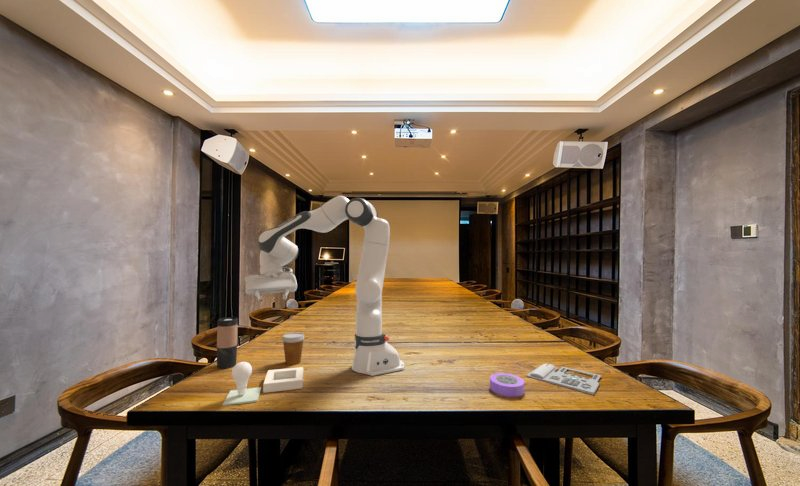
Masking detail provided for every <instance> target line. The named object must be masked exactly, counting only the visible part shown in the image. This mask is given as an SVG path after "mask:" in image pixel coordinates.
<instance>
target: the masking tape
mask: <svg viewBox="0 0 800 486" xmlns="http://www.w3.org/2000/svg"><path fill="white" fill-rule="evenodd" d="M489 389H490V390H491V392H493V393H494V394H496V395H499V396H502V397H503V396H504V397H507V398H516V397H517V398H518V397H521V396H524V394H525V380H524V379H523V378H521V377H520V376H518V375H515V374H512V373H508V372H507V373H506V372H498V373H497V372H496V373H494V374H491V375H490V377H489Z"/></svg>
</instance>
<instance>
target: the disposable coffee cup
mask: <svg viewBox="0 0 800 486" xmlns="http://www.w3.org/2000/svg"><path fill="white" fill-rule="evenodd" d="M305 338H306V337H305V334H304V333H302V332H289V333H288V332H287V333H286V334H284V335H282V338H281V340H282V343H283V352H284V360H285V365H289V366H294V365H297V364H300V363H301V361H302V360H301V359H302V354H303V348H304V347H303V345H304V340H305Z"/></svg>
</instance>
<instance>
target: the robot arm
mask: <svg viewBox="0 0 800 486" xmlns="http://www.w3.org/2000/svg"><path fill="white" fill-rule="evenodd" d="M378 215H379V214H378V211H377V208H375V206H374V205H373V204H372V203H370V202H369V201H368V200H366V199H365V198H362V197H354V198H351V199H349V198H347V196H344V195H337V196H335V197H333V198H331V199H329V200H327V202H325V203H324V204H323V205H321V206H320V207H318V208H316V209H313V210H309V211H307V210H304V211H301V212H299V213H297V214H295V215H293V216H292V217H289V218H287V220H285V221H283V222H281V223H280V224H278V225H276V226H274V227H271V228H268V229H266V230H264V231H262V232H261V234H260V235H259V236H258V239H257V244H258V245H257V246H258V248H259V250H260V252H259V267H260V268H259V274H258V273H256V274H248V275H246V276H244V282H245V293H246V294H247V295H255V297H256V298H257V301H258V302H263V295H262V294H275V293H277V294H279V293H282V300H283V301H284V300H287V299H288V295H289V294H290V293H292V292H297V289H298V283H297V278H296V275H295V274H294V273H293V269H292V268H290V267H286V266H287V265H289V264H291V263H293V262H294V261H295V260H296V259H297V258H298V256H299V248H298V247H299V246H298V245H296V243H294V242H292V241H291V240H289V239H288V238H286V236H288V235H290V234H291V233H293V232H295V231H297V230H299V229H300V230H301V229H306V230H311V231H314V232H317V233H321V234H322V233H328V232H330V231H331V232H332V230H333V229H336V228H337V226H339V225H340V224H342V223H343V222H345V221H347V220H349V221H350V222H352V223H353V224H355V225H356V226H360V227H362V228H363V229H364V230H363V231H364V235H363V236H364V237H363V244H362V249H361V257H360V262H359V266H358V271H357V277H356V281H355V282H356V283H355V287H354V288H355V290H354V292H355V296H356V308H355V309H356V311H355V334H354V342H353V344H354V356H353V359H352V360H353V361H352V365H351V367H350V368H351V370H352V371H354V372H356V373H358V374H365V375H368V376H370V377H372V376H373V377H374V376H378V375H383V374H390V373H395V372H398V371H403V370H405V368H406V367H405V366H406V365H405V363H404V361H403V360H402V359H400V355H399V352H398V351H397V349H396V348H395V347H393V346H392V345H391V344H390V343H388V342H389V340H390V337H389V336H388V335H387V334H385V333H383V329H382V328H383V287H384V282H385V281H384V280H385V274H386V266H387V260H388V253H389V247H390V246H389V245H390V240H391V239H390V238H391V236H390V235H391V227H390V223H389V222H388V220H387V219H384V218H381V217H379V216H378ZM260 294H261V295H260Z"/></svg>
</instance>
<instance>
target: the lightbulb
mask: <svg viewBox="0 0 800 486" xmlns="http://www.w3.org/2000/svg"><path fill="white" fill-rule="evenodd" d="M252 373H253V367H252V365H251V364H250V363H249V362H248V361H240V362H238V363H236V365H235V366H234V367H232V369H231V377H232V378H233V380H234V381H235V385H236V390H237V391H238V395H244V394H245V393H246V389H247V387H248V381H249V379H250V377H251V375H252Z"/></svg>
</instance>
